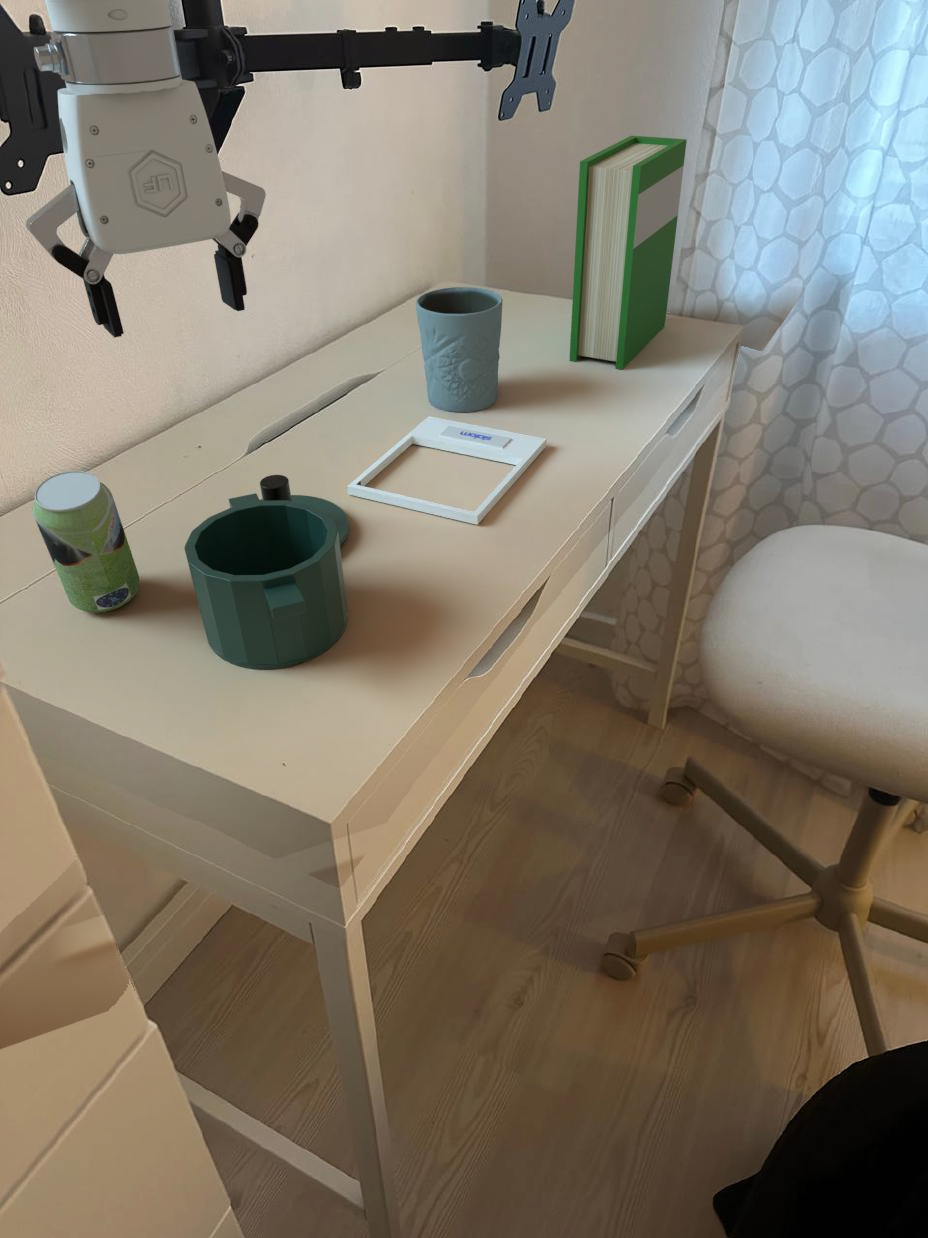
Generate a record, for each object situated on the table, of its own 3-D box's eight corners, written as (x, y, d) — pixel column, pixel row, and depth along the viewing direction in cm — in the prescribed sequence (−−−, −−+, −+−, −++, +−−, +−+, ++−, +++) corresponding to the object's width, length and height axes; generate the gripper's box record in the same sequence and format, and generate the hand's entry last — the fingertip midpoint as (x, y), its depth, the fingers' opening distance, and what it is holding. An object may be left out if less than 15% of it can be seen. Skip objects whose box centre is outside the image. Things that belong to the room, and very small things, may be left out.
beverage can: (136, 571, 81) (101, 451, 74) (152, 615, 76) (115, 491, 69) (64, 590, 79) (20, 469, 72) (74, 636, 74) (28, 510, 66)
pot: (226, 707, 67) (204, 617, 61) (192, 586, 79) (171, 502, 74) (374, 667, 70) (365, 578, 65) (319, 556, 83) (307, 474, 77)
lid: (229, 588, 79) (216, 529, 75) (206, 520, 88) (193, 464, 84) (366, 556, 82) (360, 498, 79) (330, 494, 92) (323, 439, 88)
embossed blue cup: (478, 421, 105) (477, 319, 97) (404, 405, 108) (398, 306, 101) (515, 389, 112) (517, 292, 104) (445, 375, 116) (442, 280, 108)
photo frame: (546, 437, 98) (477, 514, 85) (546, 446, 99) (477, 524, 86) (428, 414, 103) (346, 484, 91) (429, 423, 104) (348, 494, 91)
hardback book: (622, 369, 116) (640, 166, 101) (569, 360, 119) (580, 161, 104) (664, 326, 128) (686, 139, 114) (615, 318, 131) (631, 135, 116)
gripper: (-6, 78, 53) (75, 358, 63) (264, 56, 61) (297, 309, 71) (-30, 67, 58) (49, 328, 68) (222, 48, 66) (259, 286, 76)
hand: (175, 318), depth 70 cm, fingers open, 9 cm apart
